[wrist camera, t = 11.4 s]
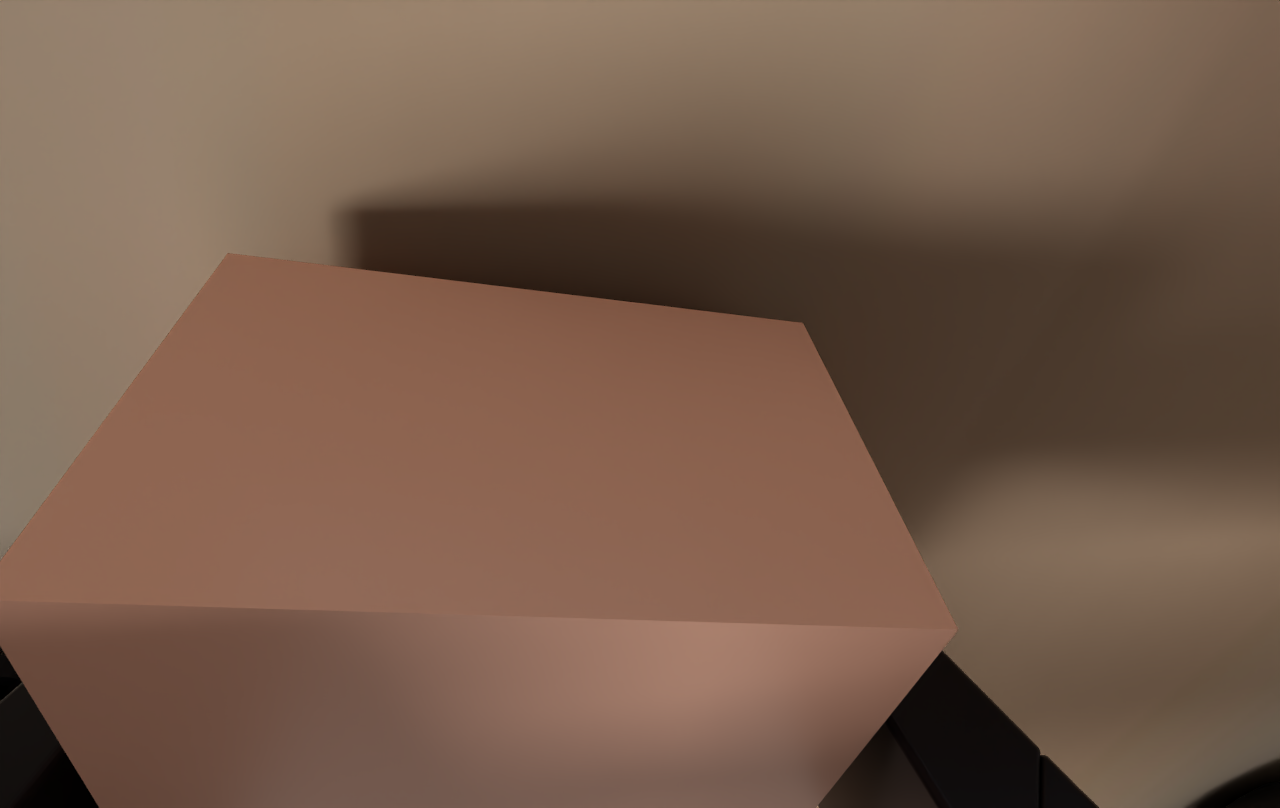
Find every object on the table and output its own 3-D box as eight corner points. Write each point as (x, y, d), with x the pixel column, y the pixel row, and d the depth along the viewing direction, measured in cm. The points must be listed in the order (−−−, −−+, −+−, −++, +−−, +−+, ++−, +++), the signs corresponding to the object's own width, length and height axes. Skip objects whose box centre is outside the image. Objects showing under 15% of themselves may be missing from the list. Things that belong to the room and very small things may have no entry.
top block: (290, 618, 11) (184, 946, 7) (227, 253, 7) (-29, 598, 4) (681, 629, 12) (728, 916, 9) (802, 322, 8) (958, 630, 5)
